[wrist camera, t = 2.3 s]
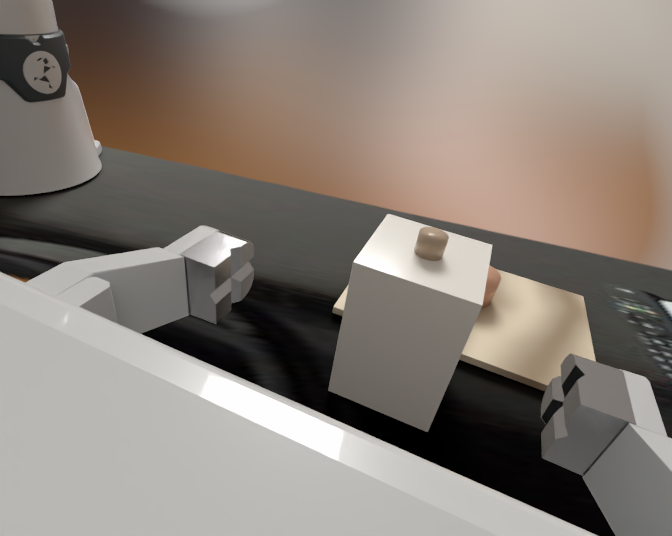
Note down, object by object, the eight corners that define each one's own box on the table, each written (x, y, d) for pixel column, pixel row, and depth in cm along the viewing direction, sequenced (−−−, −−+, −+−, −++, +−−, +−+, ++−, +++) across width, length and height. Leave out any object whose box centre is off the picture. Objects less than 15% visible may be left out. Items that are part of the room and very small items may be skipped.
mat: (332, 312, 33) (333, 306, 33) (381, 238, 45) (382, 233, 44) (599, 411, 29) (604, 406, 28) (580, 301, 40) (583, 296, 39)
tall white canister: (328, 390, 27) (357, 241, 21) (361, 329, 32) (392, 196, 26) (427, 432, 25) (491, 285, 19) (445, 361, 31) (499, 227, 24)
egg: (447, 299, 36) (456, 275, 35) (453, 278, 39) (461, 255, 38) (489, 313, 35) (500, 289, 34) (492, 291, 38) (502, 268, 37)
